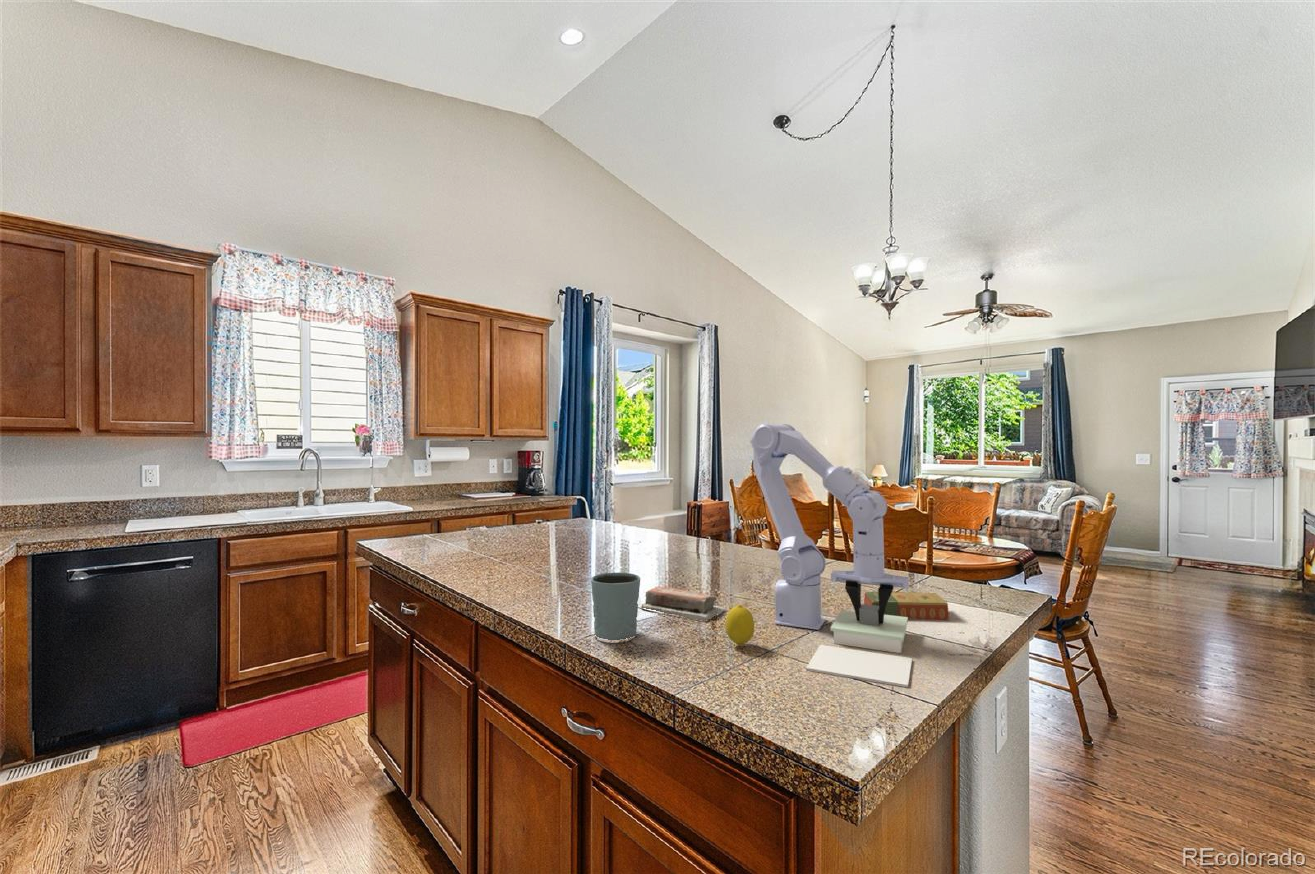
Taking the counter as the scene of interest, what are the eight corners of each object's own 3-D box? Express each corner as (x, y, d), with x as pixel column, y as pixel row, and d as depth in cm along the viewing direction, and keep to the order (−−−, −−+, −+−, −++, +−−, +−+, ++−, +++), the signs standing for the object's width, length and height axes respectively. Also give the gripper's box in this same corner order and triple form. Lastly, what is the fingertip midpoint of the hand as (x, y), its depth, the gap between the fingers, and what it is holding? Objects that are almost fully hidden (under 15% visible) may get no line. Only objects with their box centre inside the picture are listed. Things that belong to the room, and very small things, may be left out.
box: (833, 643, 108) (833, 630, 108) (843, 624, 118) (843, 613, 118) (901, 653, 102) (900, 639, 102) (905, 632, 113) (905, 620, 113)
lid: (830, 634, 107) (830, 612, 107) (841, 615, 119) (841, 595, 119) (903, 644, 101) (903, 621, 101) (907, 623, 113) (907, 602, 113)
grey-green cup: (581, 636, 114) (581, 578, 114) (617, 624, 121) (616, 569, 121) (615, 648, 107) (614, 586, 107) (651, 634, 114) (650, 576, 115)
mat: (806, 669, 95) (806, 667, 95) (820, 646, 106) (820, 644, 106) (907, 687, 88) (907, 684, 88) (912, 660, 98) (912, 658, 98)
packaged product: (639, 591, 132) (662, 582, 140) (639, 611, 132) (662, 601, 140) (704, 602, 122) (725, 591, 130) (705, 624, 122) (726, 612, 130)
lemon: (756, 642, 109) (755, 601, 109) (752, 652, 104) (751, 609, 104) (729, 639, 111) (728, 599, 111) (723, 649, 105) (722, 607, 105)
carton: (949, 622, 120) (948, 602, 120) (871, 619, 123) (871, 600, 123) (936, 610, 128) (935, 591, 128) (864, 608, 131) (863, 590, 131)
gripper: (827, 553, 110) (828, 621, 110) (907, 559, 103) (908, 632, 103) (833, 547, 116) (835, 611, 116) (909, 552, 110) (910, 621, 110)
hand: (870, 620), depth 110 cm, fingers closed on lid, 3 cm apart
